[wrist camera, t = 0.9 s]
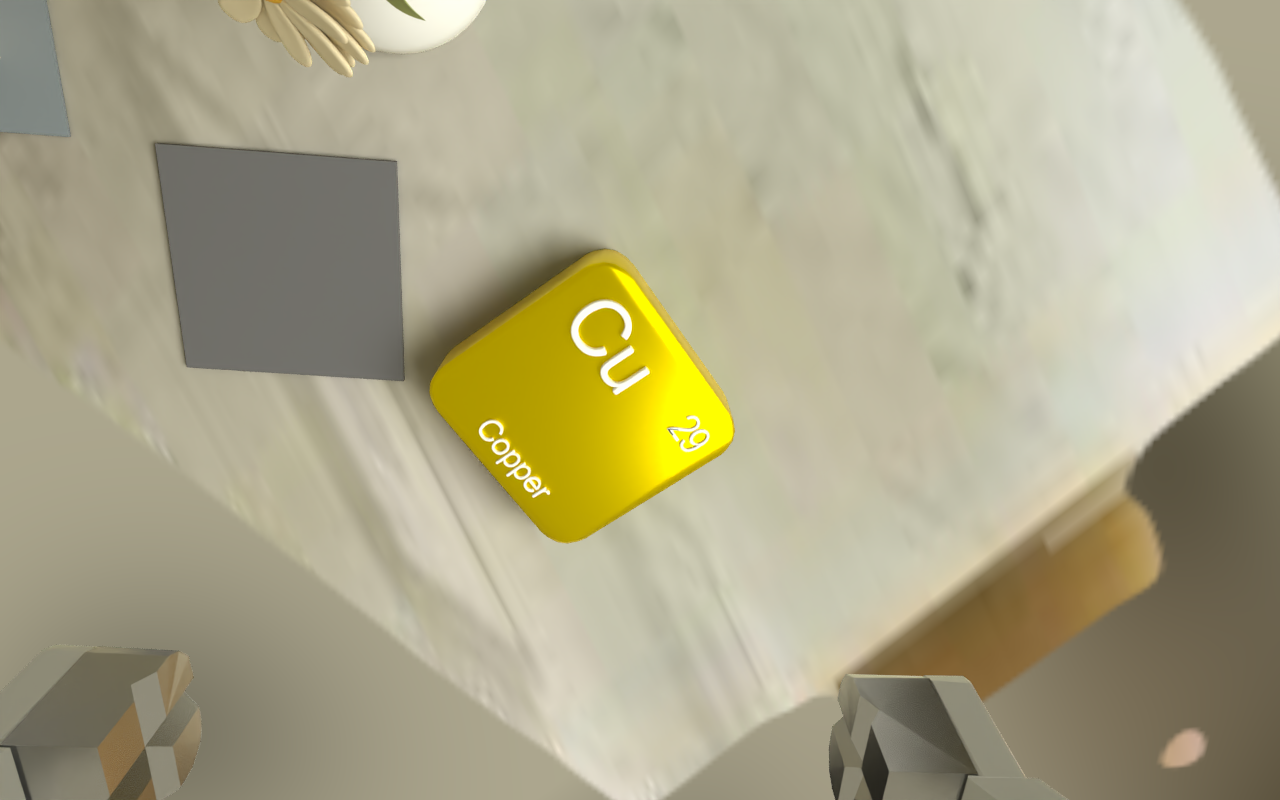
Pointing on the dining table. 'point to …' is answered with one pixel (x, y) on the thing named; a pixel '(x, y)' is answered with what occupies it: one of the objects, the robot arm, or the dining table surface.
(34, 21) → the grey flat slab
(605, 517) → the element tile
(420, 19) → the flower in vase
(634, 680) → the dining table surface
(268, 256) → the pad
